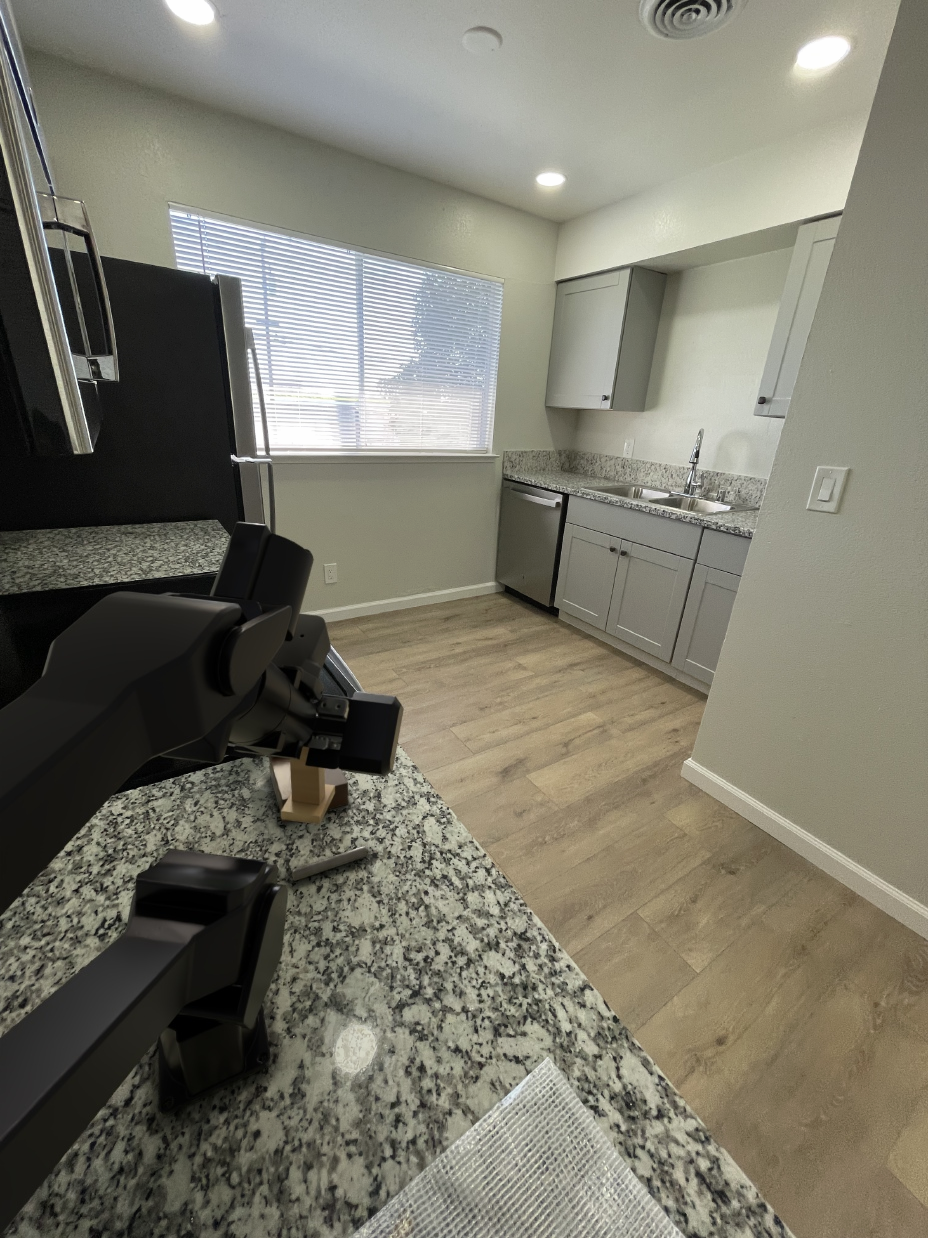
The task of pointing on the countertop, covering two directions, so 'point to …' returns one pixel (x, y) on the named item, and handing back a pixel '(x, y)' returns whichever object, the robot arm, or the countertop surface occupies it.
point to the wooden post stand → (307, 792)
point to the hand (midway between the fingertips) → (312, 740)
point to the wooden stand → (332, 777)
